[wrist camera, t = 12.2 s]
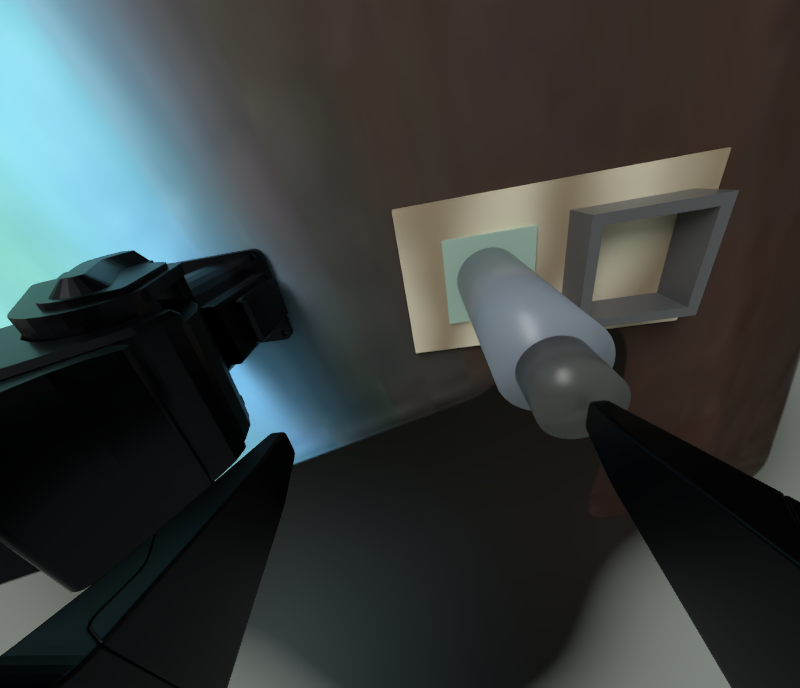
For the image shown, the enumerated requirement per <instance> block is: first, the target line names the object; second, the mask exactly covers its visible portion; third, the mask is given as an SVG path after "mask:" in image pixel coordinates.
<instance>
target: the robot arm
mask: <svg viewBox="0 0 800 688" xmlns="http://www.w3.org/2000/svg"><path fill="white" fill-rule="evenodd" d="M252 254H254V255H256V256H257V260H255V259H253V257H252ZM287 314H288V311H287V309H286V306H285V304H284V301H283V298H282V296H281V293H280V291H279V288H278V285H277V283H276V281H275V280H274V279H273V278H272V276H271V273H270V271H269V268H268V266H267V263H266V261H265V258H264V256H263V254H262V252H261V251H260V250H258V249H249V250H243V251H238V252H232V253H226V254H221V255H215V256H210V257H204V258H199V259H193V260H188V261H182V262H177V263H169V264H166V262H155V263H154V262H153V261H152V260H151V261H149V260H148V259H146V258H145V257H143V256H141V255H140V254H138V253H137V252H135V251H134V250H133V251H123V252H118V253H114V254H110V255H107V256H103V257H99V258H96V259H92V260H89V261H86V262H83V263H81V264H79V265H78V266H76V267H75V268H73V269H72V270H70V271H69V272H66V273H63V274H62V275H61V276H59V277H58V278H57V279H54V280H50V281H46V282H42V283H38V284H35V285H32V286H31V287H30V288H29V289H28V290H27V291H26V293H25V294H24V295H23V296H22V298H21V299H20V300H19V301H18V302H17V304H16V305H15V306H14V307H13V308H12V310H11V311H10V312H9V313H8V315H7V318H8V319H9V320H10V321H11V322H12V324H13V325H11V326H8V327H4V328H1V329H0V585H2V584H5V583H8V582H11V581H14V580H17V579H20V578H23V577H26V576H29V575H32V574H35V573H38V572H41V571H42V572H43V573H45V574H46V575H48V576H49V577H50V578H52V579H53V580H55V581H56V582H57V583H59V584H60V585H62V586H63V587H64V588H66V589H67V590H69V591H70V592H77V591H81V590H83V589H85V588H87V587H89V586H90V585H91V586H90V587H89V588H88V589H86V590H85V591H84V592H82V593H81V594H80V595H79V596H77V597H76V598H75V599H74V600H72V601H71V602H70V603H68V604H67V605H66V606H64V607H63V608H62V609H61V610H59V611H58V612H57V613H55V614H54V615H53V616H52V617H50V618H49V619H48V620H47V621H45V622H44V623H43V624H41V625H40V626H39V627H38V628H36V629H35V630H34V631H32V632H31V633H30V634H29V635H27V636H26V637H25V638H23V639H22V640H21V641H20V642H18V643H17V644H16V645H15V646H13V647H12V648H10V649H9V650H8V651H6V652H5V653H4V654H2V655H1V656H0V688H227V687H228V684H229V681H230V677H231V674H232V671H233V667H234V665H235V662H236V658H237V655H238V652H239V649H240V646H241V642H242V639H243V636H244V633H245V630H246V626H247V623H248V620H249V617H250V614H251V611H252V607H253V604H254V601H255V598H256V595H257V591H258V588H259V585H260V582H261V579H262V576H263V572H264V569H265V566H266V563H267V560H268V556H269V553H270V550H271V547H272V544H273V541H274V537H275V534H276V531H277V528H278V525H279V521H280V518H281V515H282V512H283V508H284V505H285V500H286V496H287V491H288V486H289V481H290V477H291V472H292V467H293V462H294V457H295V452H294V449H293V447H292V445H291V443H290V441H289V439H288V437H287V435H286V434H285V433H284V432H279V433H272V434H270V435H269V436H267V437H266V438H265V439H264V440H263V441H262V442H260V443H259V444H258V445H257V446H256V447H255V448H253V449H252V450H251V451H250V452H249V453H248V454H246V455H245V456H244V457H243V458H242V459H241V460H239V461H238V462H237V463H236V464H235V465H234V466H232V467H231V468H230V469H229V470H228V471H227V472H225V471H226V470H227V469H228V468H229V467H230V466H231V465H232V464H233V463H234V462H235V461H236V460H237V459H238V457H239V456H240V455H241V453H242V452H243V451H244V450H245V448H246V444H245V442H244V441H245V439H246V436H247V433H248V430H249V427H250V420H249V414H248V412H247V410H246V407H245V403H244V400H243V398H242V396H241V395H240V394H239V392H238V390H237V388H236V386H235V384H234V381H233V379H232V377H231V375H230V373H229V371H230V370H231V369H232V368H233V367H234V366H235V365H236V364H241V363H242V362H243V361H244V360H245V359H246V358H247V357H248V356H249V355H250V354H251V352H252V351H253V350H254V349H255V348H256V347H257V346H258V345H259V344H260V343H262V342H269V341H277V340H284V339H288V338H290V337H291V335H292V334H293V330H292V327H291V325H290V322H289V319H288V317H287ZM283 330H285V331H287V333H288V334H286V333H284V332H283ZM586 429H587V432H588V434H589V437H590V439H591V441H592V443H593V445H594V448H595V450H596V452H597V454H598V456H599V458H600V461H601V463H602V465H603V467H604V469H605V472H606V474H607V476H608V478H609V480H610V482H611V484H612V486H613V488H614V489H615V491H616V493H617V495H618V496H619V498H620V500H621V501H622V503H623V505H624V507H625V508H626V510H627V512H628V513H629V515H630V517H631V518H632V520H633V522H634V523H635V525H636V527H637V528H638V530H639V532H640V534H641V535H642V537H643V539H644V540H645V542H646V544H647V545H648V547H649V549H650V550H651V552H652V554H653V556H654V557H655V559H656V561H657V562H658V564H659V566H660V567H661V569H662V571H663V573H664V574H665V576H666V578H667V579H668V581H669V583H670V584H671V586H672V588H673V589H674V591H675V593H676V595H677V596H678V598H679V600H680V601H681V603H682V605H683V607H684V608H685V610H686V611H687V613H688V615H689V617H690V618H691V620H692V622H693V623H694V625H695V627H696V629H697V630H698V632H699V634H700V635H701V637H702V639H703V640H704V642H705V644H706V645H707V647H708V649H709V650H710V652H711V654H712V655H713V657H714V659H715V661H716V662H717V664H718V666H719V668H720V669H721V671H722V673H723V674H724V676H725V678H726V679H727V681H728V683H729V684H730V686H731V688H800V502H799V501H797V500H795V499H793V498H791V497H789V496H784V495H783V493H781V492H780V491H778V490H776V489H774V488H772V487H770V486H768V485H767V484H764V483H763V482H761V481H759V480H757V479H755V478H753V477H751V476H750V475H748V474H746V473H744V472H742V471H740V470H738V469H736V468H734V467H733V466H731V465H729V464H727V463H725V462H723V461H721V460H719V459H718V458H716V457H714V456H712V455H710V454H708V453H706V452H704V451H702V450H701V449H699V448H697V447H695V446H693V445H691V444H689V443H687V442H685V441H684V440H682V439H680V438H678V437H676V436H674V435H672V434H670V433H669V432H667V431H665V430H663V429H661V428H659V427H657V426H655V425H653V424H652V423H650V422H648V421H646V420H644V419H642V418H640V417H638V416H636V415H635V414H633V413H631V412H629V411H627V410H625V409H623V408H621V407H620V406H618V405H616V404H614V403H612V402H610V401H607V400H601V401H592V402H591V403H590V404H589V407H588V413H587V418H586ZM224 472H225V473H224ZM223 473H224V474H223ZM222 474H223V475H222ZM221 475H222V476H221ZM220 476H221V477H220ZM218 477H220V478H218ZM217 478H218V479H217ZM216 479H217V480H216ZM215 480H216V481H215ZM92 584H93V585H92Z"/></svg>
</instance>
